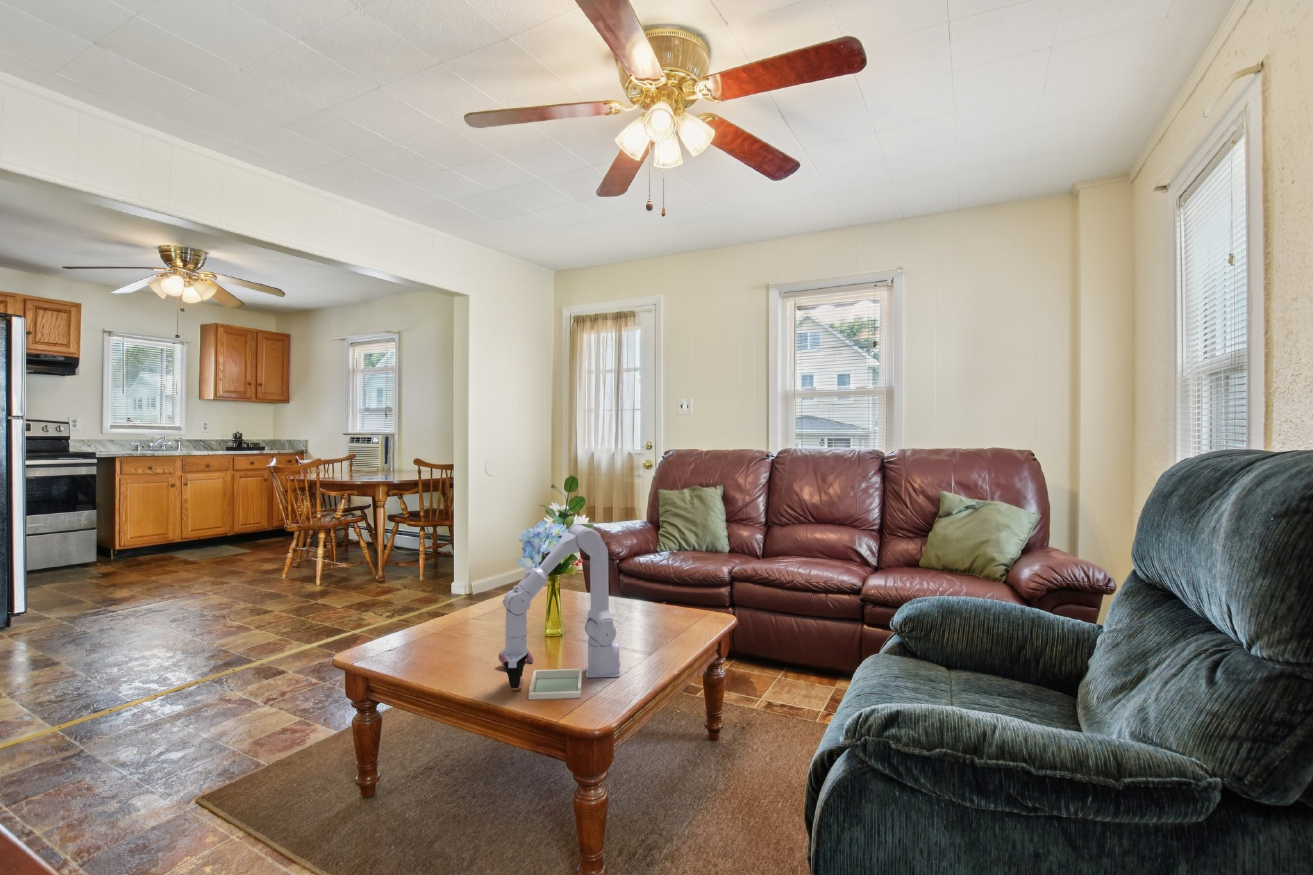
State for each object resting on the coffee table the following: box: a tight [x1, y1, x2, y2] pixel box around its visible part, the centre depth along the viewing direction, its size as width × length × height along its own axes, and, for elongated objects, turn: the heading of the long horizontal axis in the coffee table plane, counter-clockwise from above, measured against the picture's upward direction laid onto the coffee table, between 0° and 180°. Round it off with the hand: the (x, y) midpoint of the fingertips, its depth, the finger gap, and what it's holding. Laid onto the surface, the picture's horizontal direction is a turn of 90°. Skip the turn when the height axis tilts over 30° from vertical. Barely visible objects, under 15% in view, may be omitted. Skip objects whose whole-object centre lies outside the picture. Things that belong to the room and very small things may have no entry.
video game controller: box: [498, 648, 534, 668], centre depth 184 cm, size 10×5×7 cm, turn 141°
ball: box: [508, 676, 524, 691], centre depth 167 cm, size 4×4×4 cm
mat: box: [533, 678, 578, 693], centre depth 168 cm, size 11×11×1 cm
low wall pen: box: [528, 668, 583, 701], centre depth 168 cm, size 14×14×2 cm
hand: (515, 684), depth 167 cm, fingers closed on ball, 4 cm apart
